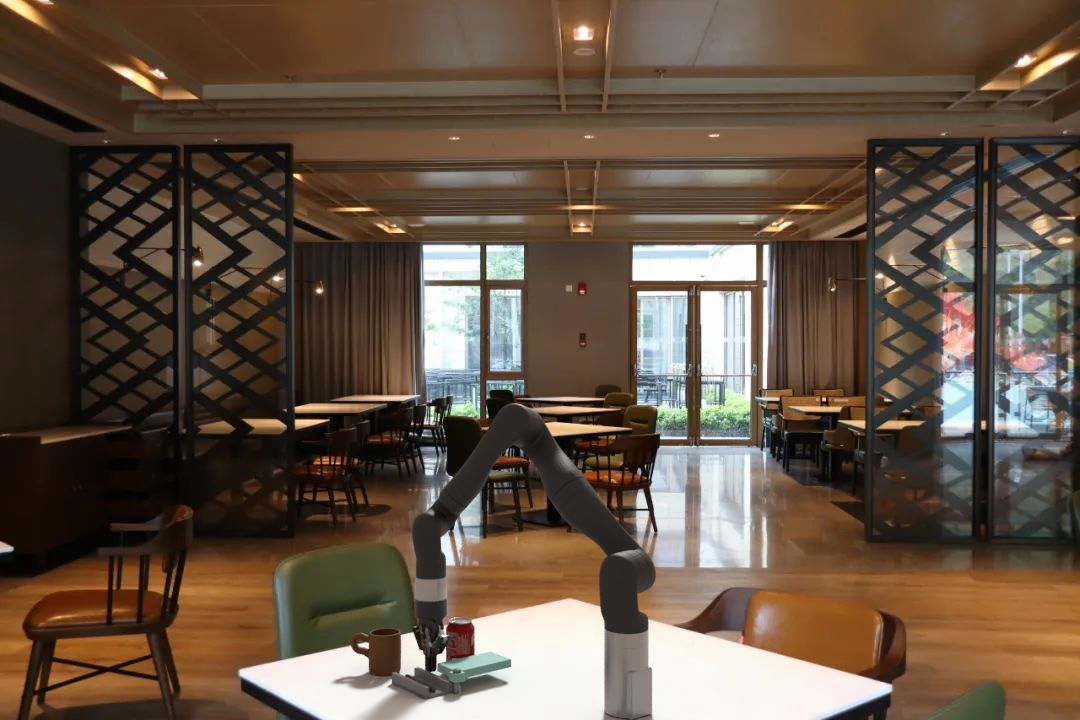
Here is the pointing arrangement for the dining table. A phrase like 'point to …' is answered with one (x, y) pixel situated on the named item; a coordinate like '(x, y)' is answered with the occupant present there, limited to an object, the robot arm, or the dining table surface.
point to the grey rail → (424, 683)
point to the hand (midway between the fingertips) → (430, 671)
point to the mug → (380, 650)
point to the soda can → (460, 638)
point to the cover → (473, 666)
